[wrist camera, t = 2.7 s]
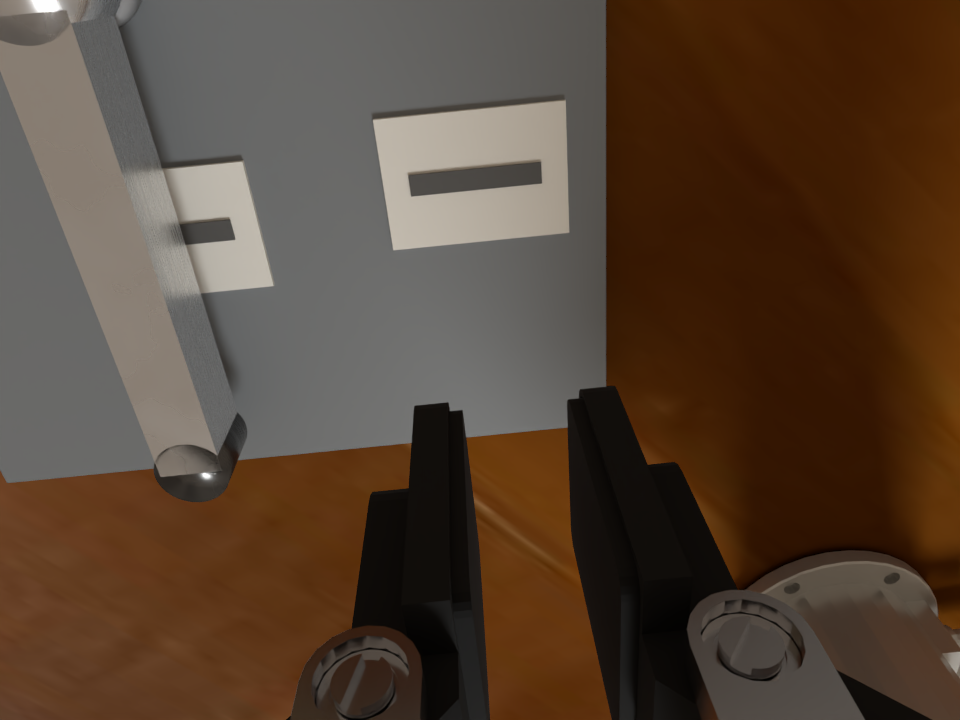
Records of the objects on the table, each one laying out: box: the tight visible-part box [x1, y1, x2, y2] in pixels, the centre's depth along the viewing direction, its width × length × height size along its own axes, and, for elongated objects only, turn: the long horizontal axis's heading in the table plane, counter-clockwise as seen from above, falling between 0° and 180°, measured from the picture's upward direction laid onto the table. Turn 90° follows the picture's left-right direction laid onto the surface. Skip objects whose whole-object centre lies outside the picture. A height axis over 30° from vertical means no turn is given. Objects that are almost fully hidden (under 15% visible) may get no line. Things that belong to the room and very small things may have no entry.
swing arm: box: [0, 0, 247, 502], centre depth 24 cm, size 20×4×3 cm, turn 5°
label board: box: [0, 0, 606, 483], centre depth 27 cm, size 28×22×3 cm
